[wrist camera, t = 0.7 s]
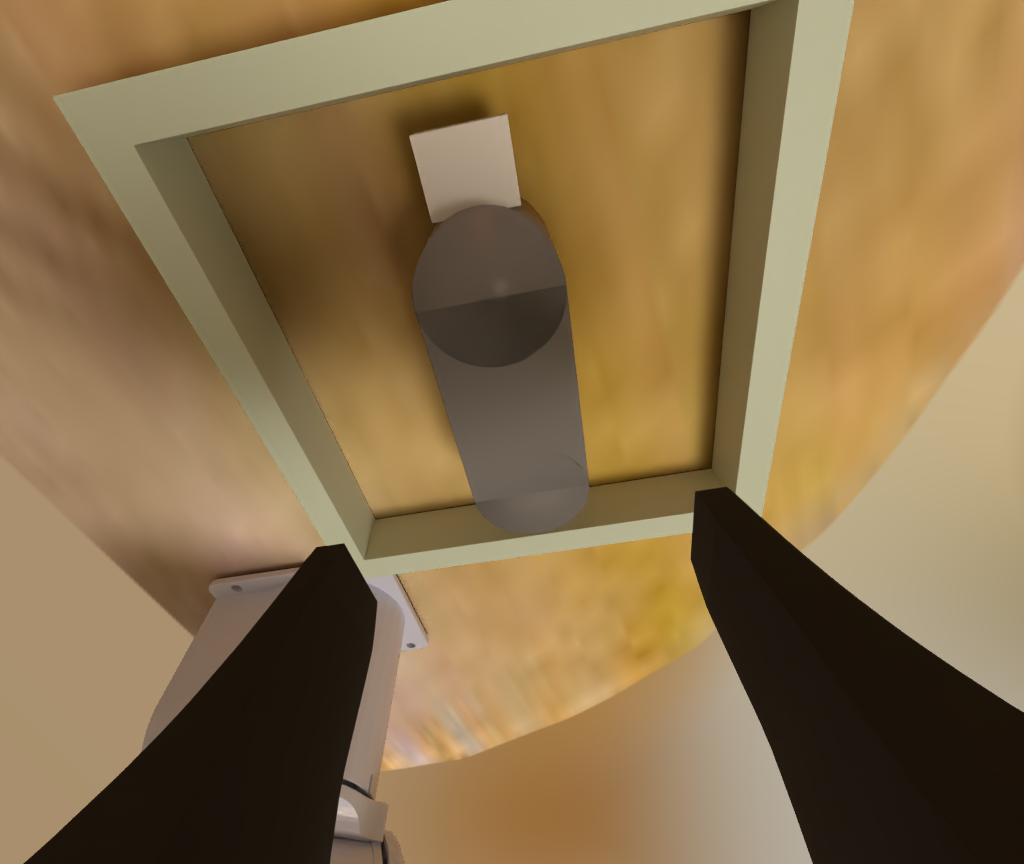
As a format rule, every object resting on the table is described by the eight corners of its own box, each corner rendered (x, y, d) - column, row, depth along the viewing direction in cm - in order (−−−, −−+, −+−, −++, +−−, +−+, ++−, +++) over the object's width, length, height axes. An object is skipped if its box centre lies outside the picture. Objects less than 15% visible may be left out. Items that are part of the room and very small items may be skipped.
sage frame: (360, 540, 23) (348, 581, 21) (119, 96, 13) (52, 96, 11) (736, 484, 22) (760, 522, 20) (808, -68, 11) (873, -102, 9)
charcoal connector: (488, 471, 21) (486, 540, 18) (395, 135, 14) (364, 148, 10) (577, 456, 21) (593, 524, 17) (533, 104, 13) (545, 108, 10)
